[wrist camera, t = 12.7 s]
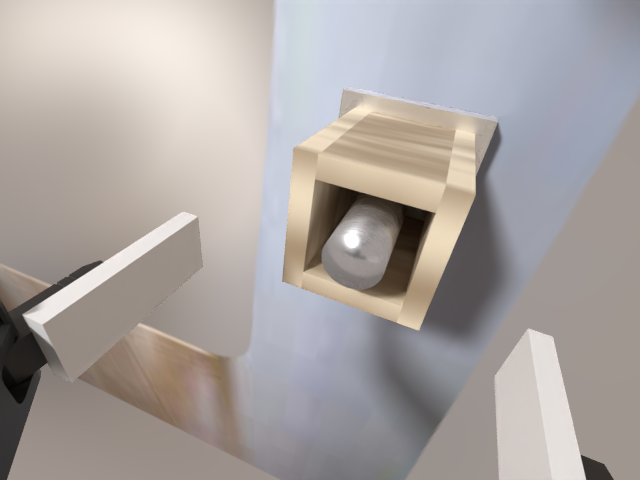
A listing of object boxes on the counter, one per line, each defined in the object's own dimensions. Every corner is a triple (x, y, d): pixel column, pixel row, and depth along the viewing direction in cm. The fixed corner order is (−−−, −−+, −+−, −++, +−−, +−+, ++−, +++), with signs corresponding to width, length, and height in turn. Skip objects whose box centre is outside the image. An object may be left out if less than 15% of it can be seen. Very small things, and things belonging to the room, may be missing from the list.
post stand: (349, 86, 25) (258, 128, 14) (496, 116, 22) (516, 194, 12) (329, 209, 30) (253, 304, 20) (445, 243, 28) (428, 371, 17)
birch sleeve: (354, 107, 24) (293, 148, 16) (475, 134, 22) (475, 195, 14) (336, 209, 28) (282, 281, 20) (435, 238, 26) (418, 330, 18)
